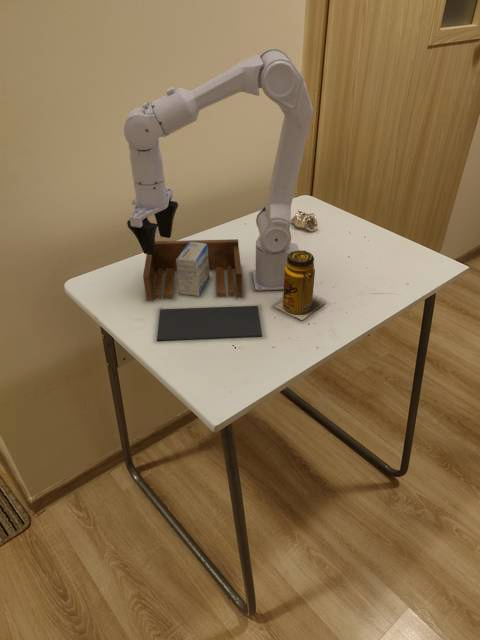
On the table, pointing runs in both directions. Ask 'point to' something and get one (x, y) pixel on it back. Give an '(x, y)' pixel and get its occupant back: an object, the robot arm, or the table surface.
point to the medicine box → (193, 268)
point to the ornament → (305, 220)
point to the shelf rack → (164, 259)
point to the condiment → (299, 286)
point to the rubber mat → (209, 323)
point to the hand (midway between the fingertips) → (157, 244)
